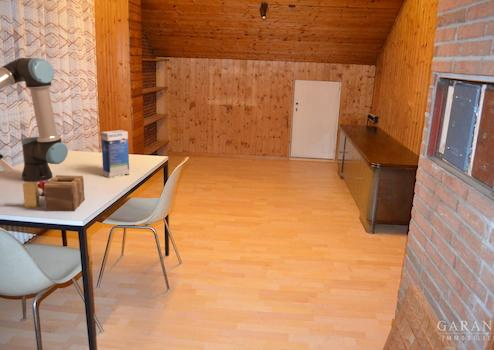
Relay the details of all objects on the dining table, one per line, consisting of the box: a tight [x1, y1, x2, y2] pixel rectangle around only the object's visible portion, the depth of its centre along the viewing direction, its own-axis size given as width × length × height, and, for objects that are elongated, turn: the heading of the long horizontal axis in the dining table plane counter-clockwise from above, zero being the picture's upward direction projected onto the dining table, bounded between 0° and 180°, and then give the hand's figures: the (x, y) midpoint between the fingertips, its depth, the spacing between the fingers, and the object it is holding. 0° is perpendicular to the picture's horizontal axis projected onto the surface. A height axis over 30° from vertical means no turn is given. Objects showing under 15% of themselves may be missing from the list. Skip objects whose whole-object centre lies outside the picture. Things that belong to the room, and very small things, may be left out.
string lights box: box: [100, 129, 130, 179], centre depth 244 cm, size 13×8×26 cm, turn 137°
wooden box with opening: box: [43, 174, 85, 212], centre depth 191 cm, size 16×12×12 cm
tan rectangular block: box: [22, 181, 41, 209], centre depth 188 cm, size 4×5×11 cm
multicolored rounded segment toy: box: [38, 179, 49, 197], centre depth 207 cm, size 8×10×7 cm
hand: (4, 174), depth 185 cm, fingers open, 13 cm apart
